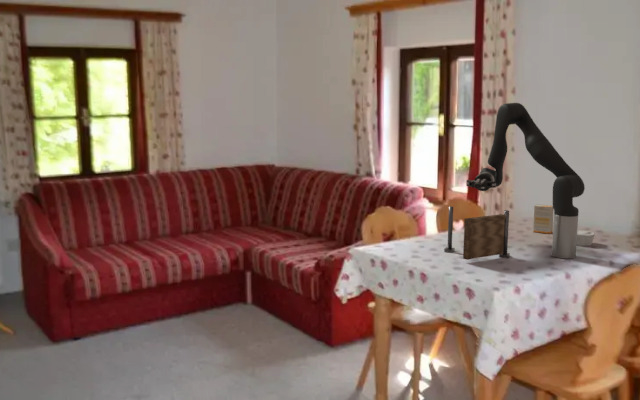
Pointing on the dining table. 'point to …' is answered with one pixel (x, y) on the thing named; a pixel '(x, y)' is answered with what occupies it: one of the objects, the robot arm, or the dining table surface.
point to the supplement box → (543, 218)
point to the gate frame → (450, 228)
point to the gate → (483, 236)
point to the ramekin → (584, 238)
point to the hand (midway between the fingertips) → (477, 186)
